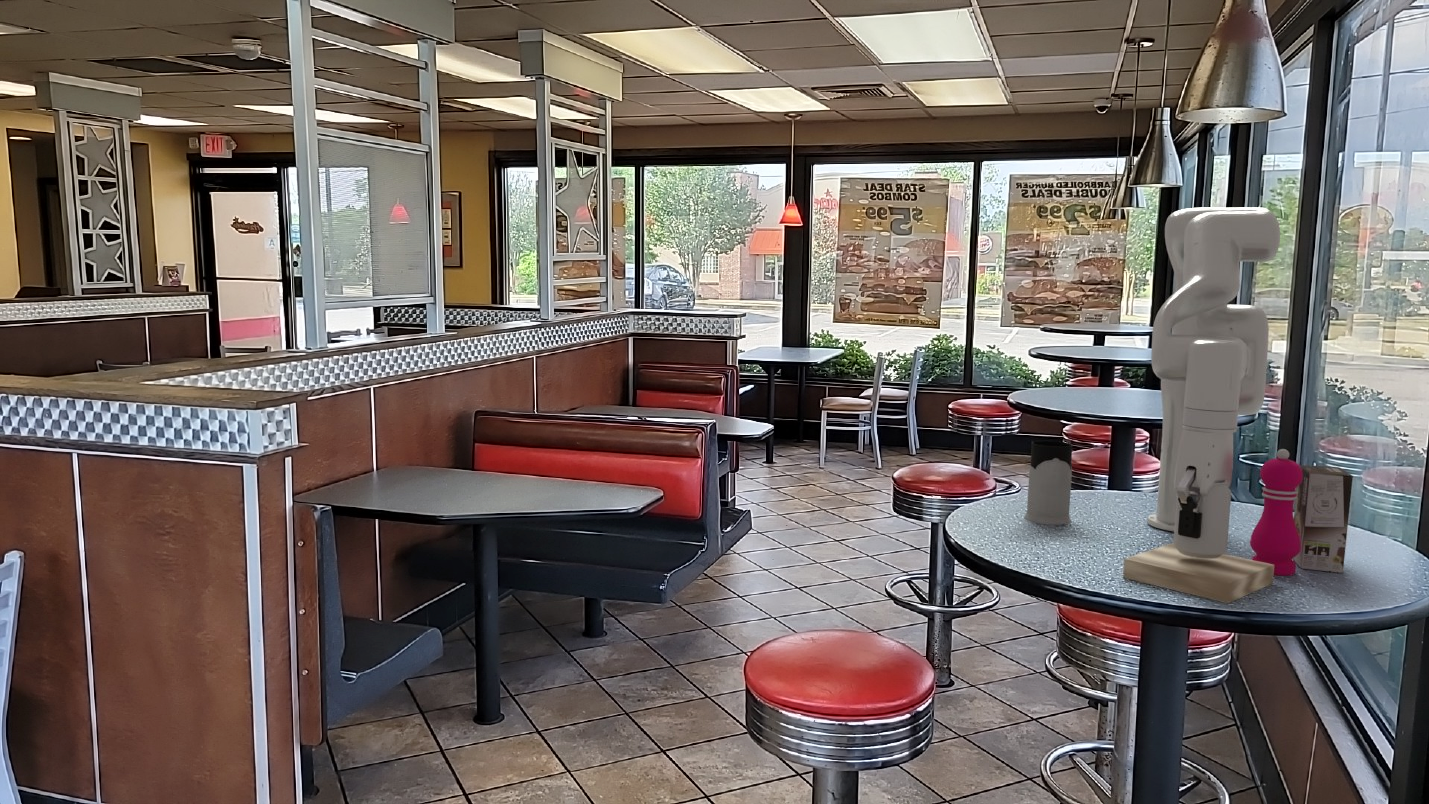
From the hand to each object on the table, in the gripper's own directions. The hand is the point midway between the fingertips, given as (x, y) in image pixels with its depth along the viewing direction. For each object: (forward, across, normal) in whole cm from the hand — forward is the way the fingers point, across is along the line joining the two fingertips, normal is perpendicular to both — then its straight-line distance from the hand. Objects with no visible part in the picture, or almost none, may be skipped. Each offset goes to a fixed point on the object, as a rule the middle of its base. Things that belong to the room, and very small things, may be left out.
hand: (1201, 531), depth 157 cm
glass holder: (+8, -20, -39) cm, 44 cm away
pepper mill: (+8, -16, +5) cm, 18 cm away
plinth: (+8, 0, 0) cm, 8 cm away
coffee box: (+8, -26, +8) cm, 28 cm away
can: (+4, 0, 0) cm, 4 cm away
